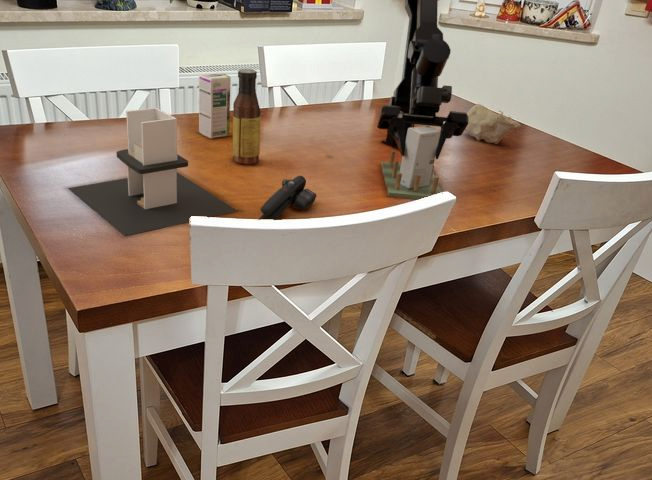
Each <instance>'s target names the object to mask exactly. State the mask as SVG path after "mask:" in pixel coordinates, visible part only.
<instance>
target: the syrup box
mask: <svg viewBox="0 0 652 480" xmlns="http://www.w3.org/2000/svg"><path fill="white" fill-rule="evenodd" d="M231 82H232V80H231V76H229V75H227V74H226V73H223V72H219V71H215V72H209V73H208V72H207V73H199V74H198V132H199V133H200V134H201V135H202V136H204V137H206V138H208V139H216V138H223V137H224V138H225V137H230V126H231V125H230V124H231V123H230V121H231Z"/></svg>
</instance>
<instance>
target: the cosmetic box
mask: <svg viewBox="0 0 652 480" xmlns="http://www.w3.org/2000/svg"><path fill="white" fill-rule="evenodd" d="M440 133H441V130H439V129H437V128H434V127H433V126H428V125H423V126H414V127H413V128H408V131H407V136H406V142H405V152H404V156H401V157H402V158H401V162H400V163H401V167H400V173H402V177H401V183H400V184H401V185H403V186H405V187H407V188H409V189H411V188H413V187H414V182H415V178H416V175H417V174H419V175H421V177H420V181H419V186H418V187H424V186H428V185H429V183H430V178H431V174H432V169H433V165H434V164H435V160H436V151H437V146H438V142H439V137H440ZM434 166H435V165H434ZM433 170H434V169H433Z"/></svg>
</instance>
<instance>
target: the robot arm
mask: <svg viewBox="0 0 652 480" xmlns="http://www.w3.org/2000/svg"><path fill="white" fill-rule="evenodd" d="M438 2H439V0H404V10H405V12H406V14H407V17H408V26H407V35H406V42H405V48H404V58H403V65H402V71H401V73H402V74H401V81H400V82H399V83H398V85H397V86H396V88H395V89H394V90H393V93H392V96H390V99H389V102H388V104H383V105H382V106H381V107H380V111H379V114H378V117H377V123H376V125H377V127H376V128H377V129H379V130H386V137H385V139H381V142H382V144H385V145H388V146H390V147H392V148H394V149H398V151H399V154H400V156H401V157H403V156H404V152H405V142H406V136H407V131H408V128H413V127H415V125H419V126H429V127H440V131H441V133H440V137H439V142H438V146H437V151H436V155H435V160H438V159H439V158H440V155H441V153H442V151H443V148H444V146H445V143H446V141H447V140H449V139H451V138H453V137H461V136H462V135H463V133H464V132H465V130H466V129H467V128H466V127H467V125H468V119H469V117H468V115H467V112H465V111H457V110H456V111H454V110H450V111H449V113H448V115H447V116H446V117H445V116H437V114H438V113H440V107H441V106H442V104H449V103H450V102H451V100H452V94H453V86H452V85H446V84H445V85H443V86H441V87H438V86H439V77H440V76H441V75H442V73H443V71H444V68H445V67H446V65H447V63H448V60H449V58H450V57H451V52H452V51H451V50H452V49H451V48H450V45H449V43H447V41H446V40H444V32H442V30H441V29H440V28H439V27H438Z"/></svg>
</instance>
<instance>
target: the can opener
mask: <svg viewBox="0 0 652 480" xmlns="http://www.w3.org/2000/svg"><path fill="white" fill-rule="evenodd" d="M306 179H307V178H305V177H304V176H303V175H297V176H295V177H294V178H293V179H288V178H286V179H285V178H283V179H282V180H281V187H280V188H279V189H277V191H276V192H273V194H272V195H271V196H270V197H269V198H268V199H267V200H266V201H265V202H264V203H263V205H261V207H260V209H259V210H260V212H261V213H262V215H261V216H260V217H259V219H275V220H276V219H278V218H279V217H280V216H281V215H282V214H283V213H284V211H286V209H287V208H288V207H290V206H292V205H293V207H292V208H294V209H297V210H301V211H306V210H308V209H309V208H310V207H311V206H312V205H313V204H314V202H315V201H316V199H317V193H316V192H314V191H312V190H311V189H309V188H305V187H306V184H307V180H306Z"/></svg>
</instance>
